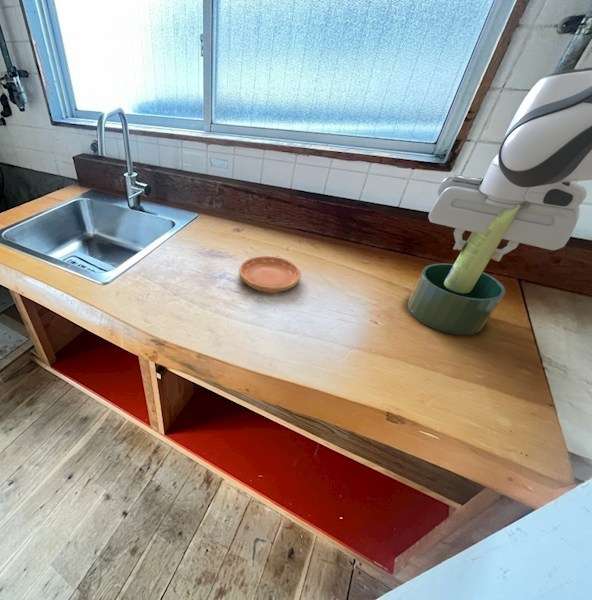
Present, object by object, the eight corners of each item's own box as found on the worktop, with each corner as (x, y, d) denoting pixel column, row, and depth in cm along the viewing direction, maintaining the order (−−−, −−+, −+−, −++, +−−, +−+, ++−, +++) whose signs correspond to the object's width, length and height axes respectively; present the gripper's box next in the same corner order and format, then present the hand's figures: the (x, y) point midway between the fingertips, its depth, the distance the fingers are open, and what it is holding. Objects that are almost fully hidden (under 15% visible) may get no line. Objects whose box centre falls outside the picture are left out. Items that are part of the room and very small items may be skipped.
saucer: (311, 281, 85) (313, 271, 83) (270, 304, 78) (272, 294, 76) (266, 259, 96) (267, 250, 94) (226, 277, 88) (226, 268, 86)
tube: (479, 291, 67) (535, 199, 56) (465, 298, 65) (520, 204, 54) (450, 278, 71) (497, 190, 60) (437, 285, 69) (482, 195, 58)
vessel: (489, 312, 72) (511, 279, 67) (473, 344, 64) (497, 309, 59) (419, 288, 81) (433, 257, 75) (398, 314, 73) (412, 281, 68)
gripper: (440, 176, 60) (412, 243, 68) (598, 201, 48) (542, 279, 56) (449, 169, 63) (422, 234, 71) (600, 190, 51) (546, 265, 59)
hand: (476, 254), depth 64 cm, fingers closed on tube, 5 cm apart
